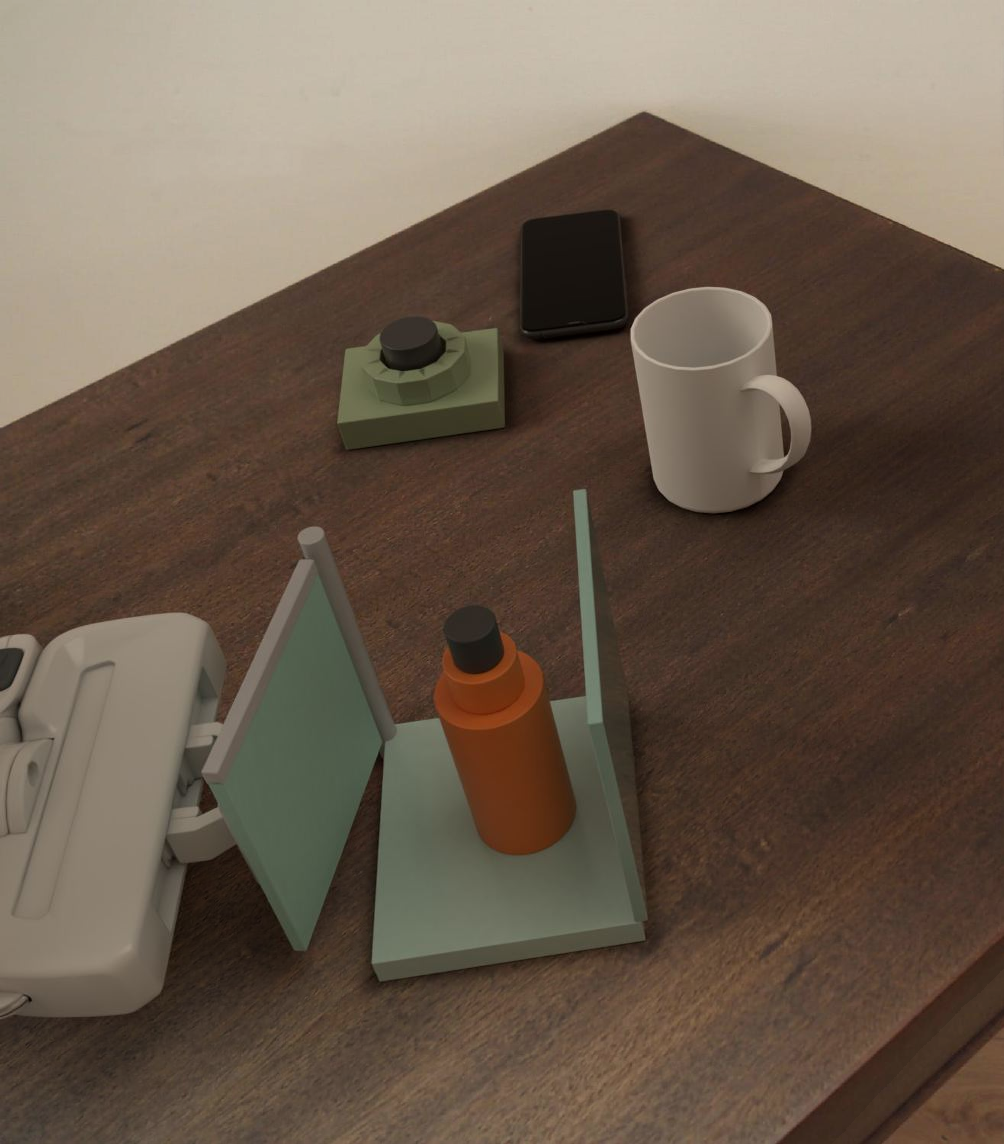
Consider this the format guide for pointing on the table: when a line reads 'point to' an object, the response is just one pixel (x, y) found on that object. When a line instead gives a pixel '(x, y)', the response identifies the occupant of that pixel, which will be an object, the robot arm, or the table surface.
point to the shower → (449, 836)
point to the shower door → (295, 756)
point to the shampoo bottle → (502, 736)
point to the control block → (423, 391)
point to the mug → (714, 399)
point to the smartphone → (572, 275)
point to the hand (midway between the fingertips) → (292, 778)
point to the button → (411, 343)
